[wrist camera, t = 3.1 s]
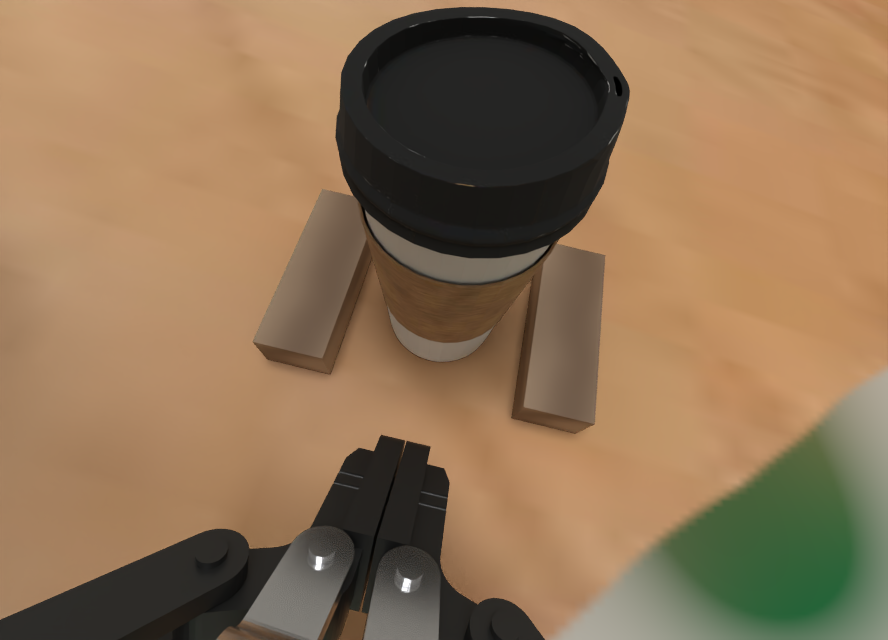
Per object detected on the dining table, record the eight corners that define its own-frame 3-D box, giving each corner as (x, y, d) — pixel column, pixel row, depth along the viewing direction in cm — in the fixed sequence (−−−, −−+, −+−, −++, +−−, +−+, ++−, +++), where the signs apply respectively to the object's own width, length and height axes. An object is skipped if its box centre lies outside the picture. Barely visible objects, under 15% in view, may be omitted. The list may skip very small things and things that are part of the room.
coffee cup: (513, 389, 23) (668, 210, 10) (359, 379, 23) (295, 175, 9) (510, 260, 27) (618, -1, 13) (376, 249, 26) (348, -35, 13)
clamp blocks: (267, 359, 23) (252, 341, 20) (329, 216, 27) (322, 188, 25) (575, 433, 22) (594, 424, 20) (588, 277, 27) (605, 255, 25)
